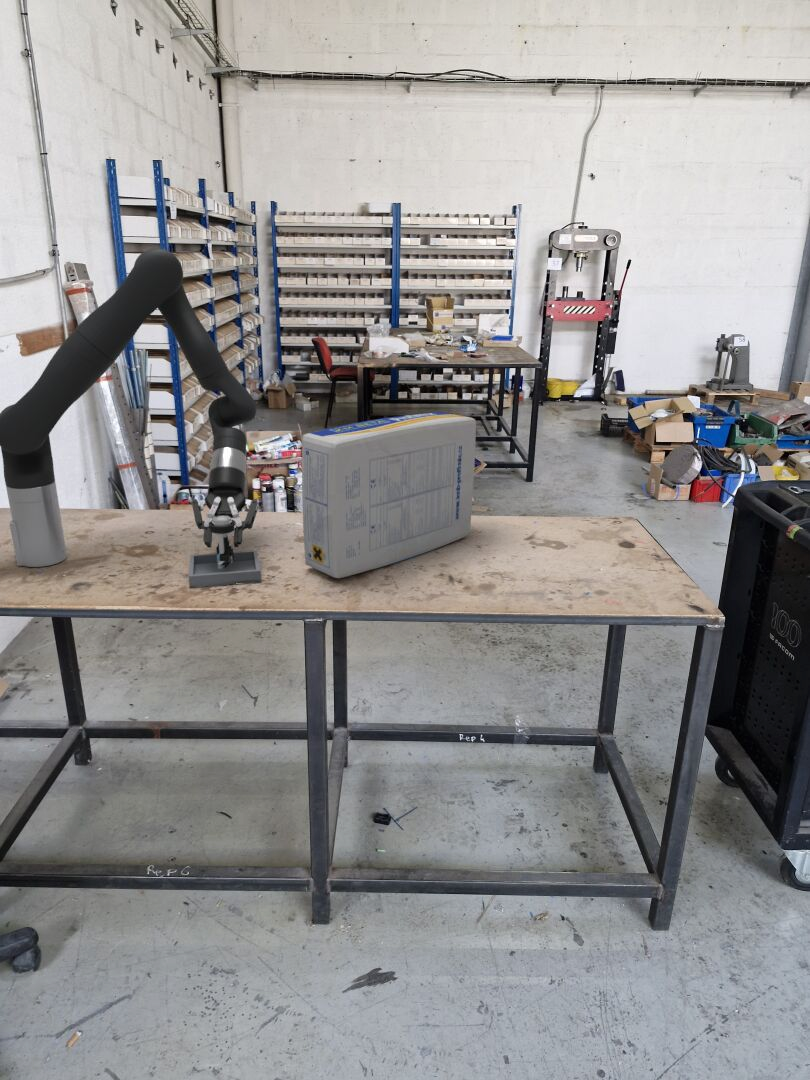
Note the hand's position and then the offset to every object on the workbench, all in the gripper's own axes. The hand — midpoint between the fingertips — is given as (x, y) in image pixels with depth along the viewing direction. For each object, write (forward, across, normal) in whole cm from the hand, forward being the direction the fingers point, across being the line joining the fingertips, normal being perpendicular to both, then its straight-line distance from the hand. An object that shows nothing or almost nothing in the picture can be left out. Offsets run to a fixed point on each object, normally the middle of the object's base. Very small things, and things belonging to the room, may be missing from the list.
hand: (222, 545), depth 146 cm
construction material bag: (-4, +36, +13) cm, 38 cm away
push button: (+3, 0, +4) cm, 5 cm away
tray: (+4, 0, +5) cm, 7 cm away
